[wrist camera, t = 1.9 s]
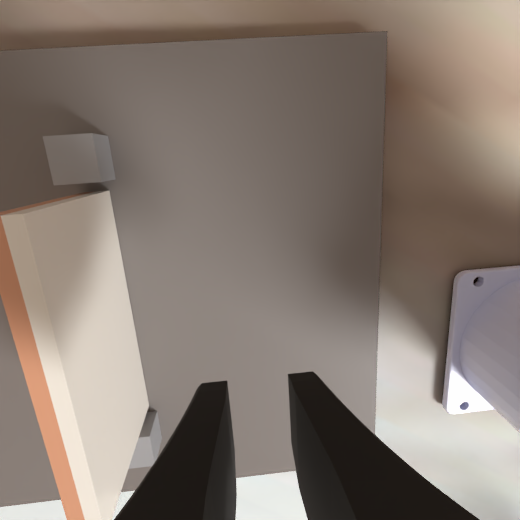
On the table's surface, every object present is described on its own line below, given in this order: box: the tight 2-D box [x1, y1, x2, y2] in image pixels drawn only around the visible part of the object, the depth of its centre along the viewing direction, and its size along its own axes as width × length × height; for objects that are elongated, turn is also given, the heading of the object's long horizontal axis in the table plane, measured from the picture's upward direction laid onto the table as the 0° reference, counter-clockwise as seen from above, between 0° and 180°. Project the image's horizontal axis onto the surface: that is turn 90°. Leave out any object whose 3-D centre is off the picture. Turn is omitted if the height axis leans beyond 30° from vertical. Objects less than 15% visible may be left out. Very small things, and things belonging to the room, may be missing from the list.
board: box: [0, 31, 387, 507], centre depth 15 cm, size 22×20×3 cm
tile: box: [0, 190, 149, 520], centre depth 12 cm, size 1×10×6 cm, turn 4°
